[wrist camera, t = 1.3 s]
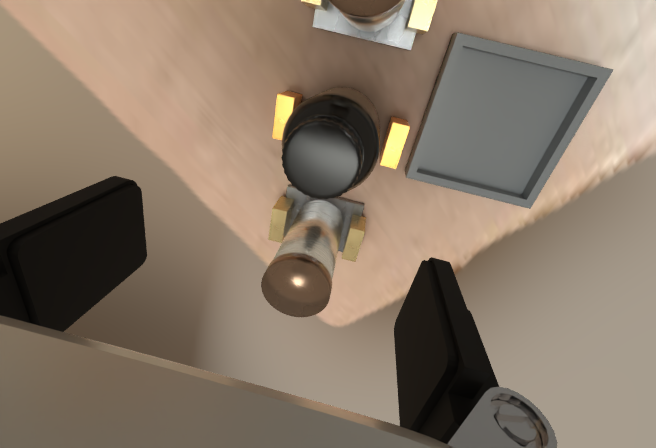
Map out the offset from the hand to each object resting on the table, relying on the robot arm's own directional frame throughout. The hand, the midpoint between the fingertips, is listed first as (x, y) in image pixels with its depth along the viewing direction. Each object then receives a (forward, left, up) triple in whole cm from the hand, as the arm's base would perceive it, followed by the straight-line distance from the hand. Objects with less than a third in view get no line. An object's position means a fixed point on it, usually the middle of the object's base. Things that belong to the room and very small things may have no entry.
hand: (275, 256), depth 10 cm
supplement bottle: (0, 0, -21) cm, 21 cm away
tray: (-3, +12, -21) cm, 25 cm away
